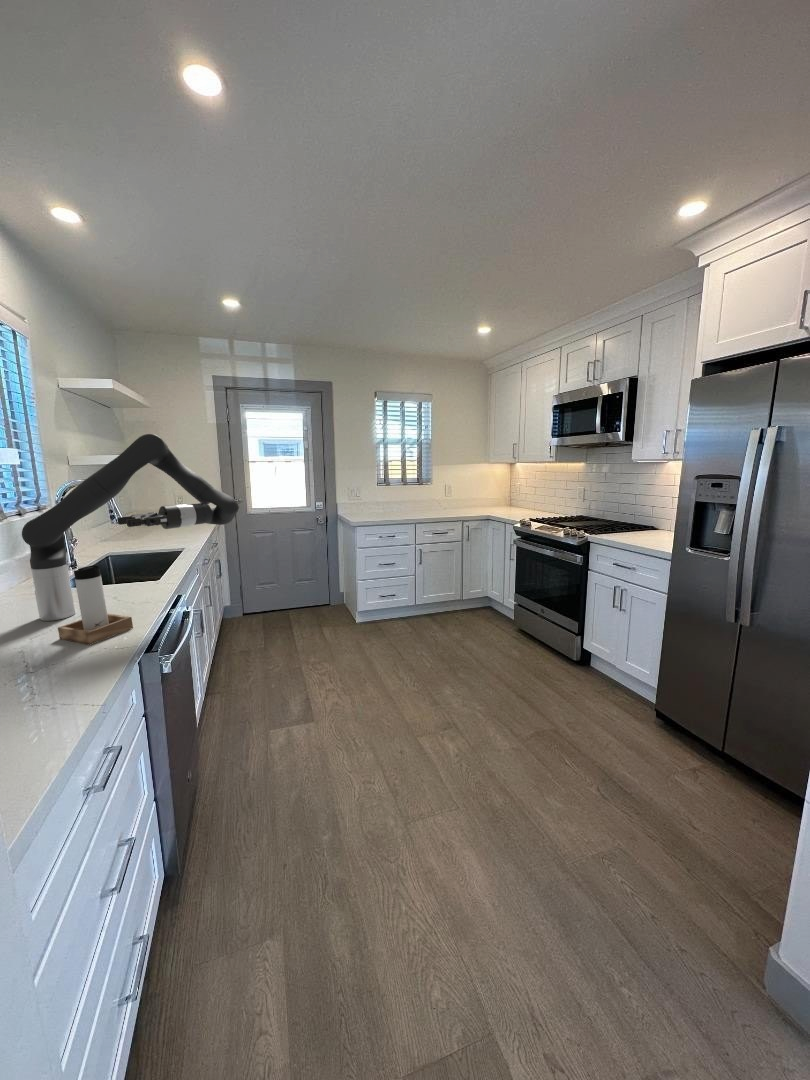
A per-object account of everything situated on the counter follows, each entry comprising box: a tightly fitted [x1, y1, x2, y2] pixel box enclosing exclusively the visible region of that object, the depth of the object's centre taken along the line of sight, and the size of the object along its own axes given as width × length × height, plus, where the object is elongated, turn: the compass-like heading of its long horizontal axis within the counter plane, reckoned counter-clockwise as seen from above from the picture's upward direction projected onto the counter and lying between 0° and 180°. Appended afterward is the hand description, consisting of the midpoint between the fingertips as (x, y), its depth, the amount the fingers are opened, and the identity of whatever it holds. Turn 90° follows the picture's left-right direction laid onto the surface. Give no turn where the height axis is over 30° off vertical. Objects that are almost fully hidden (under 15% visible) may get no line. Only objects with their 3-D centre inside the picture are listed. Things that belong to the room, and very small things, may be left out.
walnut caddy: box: [57, 612, 134, 646], centre depth 131 cm, size 13×13×4 cm
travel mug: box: [73, 563, 109, 631], centre depth 130 cm, size 6×7×20 cm
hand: (122, 522), depth 134 cm, fingers open, 8 cm apart
